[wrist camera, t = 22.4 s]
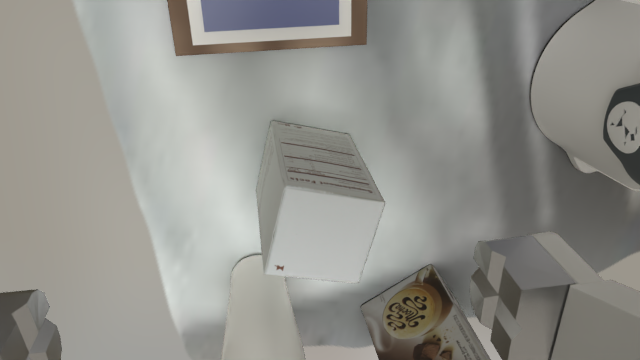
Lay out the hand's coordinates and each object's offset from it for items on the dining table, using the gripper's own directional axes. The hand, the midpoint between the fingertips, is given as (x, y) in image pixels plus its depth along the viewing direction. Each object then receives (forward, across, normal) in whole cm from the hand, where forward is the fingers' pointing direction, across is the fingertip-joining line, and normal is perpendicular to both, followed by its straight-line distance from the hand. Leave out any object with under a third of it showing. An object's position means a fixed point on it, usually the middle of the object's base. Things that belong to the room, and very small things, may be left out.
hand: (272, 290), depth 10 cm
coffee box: (+34, +15, -32) cm, 49 cm away
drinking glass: (+34, -1, -26) cm, 43 cm away
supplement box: (+34, +4, -14) cm, 37 cm away
